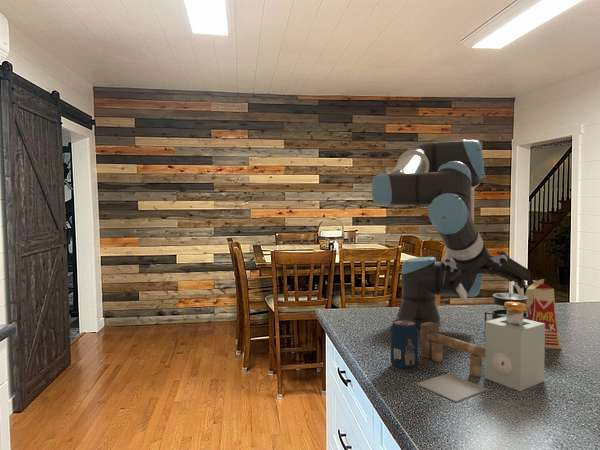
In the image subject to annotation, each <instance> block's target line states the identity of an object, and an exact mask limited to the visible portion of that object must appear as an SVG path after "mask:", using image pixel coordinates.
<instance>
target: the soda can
mask: <svg viewBox="0 0 600 450" xmlns="http://www.w3.org/2000/svg"><path fill="white" fill-rule="evenodd" d="M390 364H391V366H392V367H393V368H394V369H395V370H397V371H400V372H412V371H414V370H415V369H416V368H417V367H418V364H419V328H417V326H416V323H415V322H414V321H412V320H407V319H397V318H396V319H394V320H392V324H391V327H390Z"/></svg>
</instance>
